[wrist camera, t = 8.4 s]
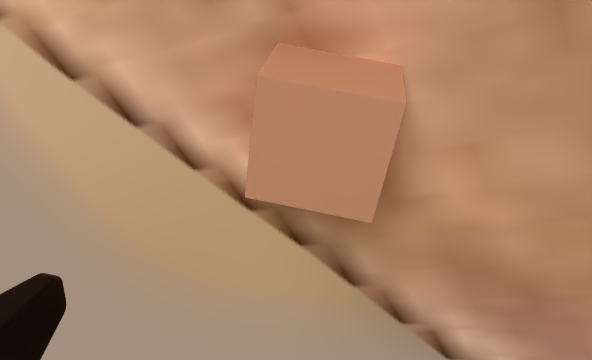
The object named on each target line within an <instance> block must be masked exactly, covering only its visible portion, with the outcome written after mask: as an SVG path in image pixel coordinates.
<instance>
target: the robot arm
mask: <svg viewBox="0 0 592 360" xmlns="http://www.w3.org/2000/svg"><path fill="white" fill-rule="evenodd" d="M65 309H66V298H65V293H64V287H63V282H62V279H61V278H60V277H58V276H55V275H50V274H46V273H41V274H38V275H35V276H33V277H32V278H30V279H28V280H26V281H24V282H22V283H20V284H19V285H17V286H15V287H13V288H12V289H9V290H7V291H6V292H4V293H2V294H0V360H40V359H41V357H42V355H43V353H44V351H45V350H46V347H47V346H48V344H49V342H50V340H51V338H52V336H53V334H54V332H55V330H56V328H57V326H58V324H59V322H60V321H61V319H62V317H63V315H64V312H65Z"/></svg>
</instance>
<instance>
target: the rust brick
mask: <svg viewBox="0 0 592 360" xmlns="http://www.w3.org/2000/svg"><path fill="white" fill-rule="evenodd" d="M406 104H407V103H406V95H405V87H404V78H403V70H402V66H401V65H396V64H390V63H385V62H380V61H374V60H369V59H364V58H358V57H353V56H347V55H342V54H337V53H331V52H326V51H321V50H315V49H310V48H305V47H299V46H294V45H288V44H283V43H278V44H277V45H276V47H275V48H274V50H273V51H272V53H271V54H270V56H269V57H268V59H267V60H266V62H265V63H264V65H263V66H262V68H261V69H260V71H259V73H258V74H257V78H256V88H255V99H254V109H253V119H252V130H251V140H250V151H249V161H248V171H247V182H246V192H245V197H247V198H252V199H256V200H261V201H266V202H271V203H276V204H281V205H286V206H291V207H295V208H300V209H305V210H310V211H315V212H320V213H325V214H330V215H334V216H339V217H344V218H349V219H354V220H359V221H364V222H369V223H372V221H373V217H374V214H375V211H376V207H377V204H378V200H379V197H380V193H381V190H382V186H383V183H384V180H385V176H386V173H387V169H388V166H389V162H390V159H391V156H392V152H393V149H394V145H395V142H396V138H397V135H398V132H399V128H400V125H401V121H402V118H403V114H404V111H405V108H406Z"/></svg>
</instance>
